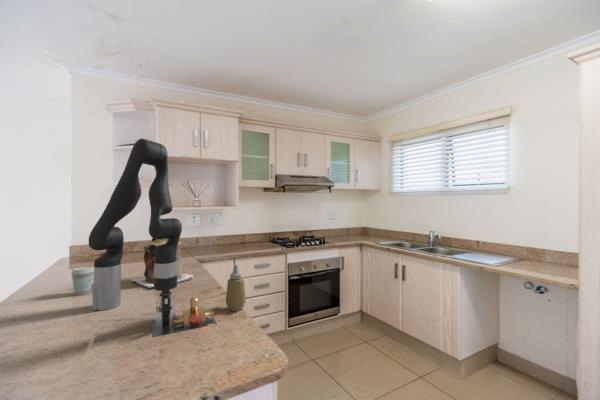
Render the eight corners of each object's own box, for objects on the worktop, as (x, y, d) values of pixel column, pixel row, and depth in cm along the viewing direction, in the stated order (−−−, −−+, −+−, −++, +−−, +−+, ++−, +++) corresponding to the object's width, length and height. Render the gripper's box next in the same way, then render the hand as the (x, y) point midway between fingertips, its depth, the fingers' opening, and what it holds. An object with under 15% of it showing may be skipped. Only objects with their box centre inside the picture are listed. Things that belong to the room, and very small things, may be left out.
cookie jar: (172, 272, 169) (172, 221, 169) (195, 279, 154) (196, 223, 155) (129, 282, 149) (129, 223, 149) (151, 290, 134) (151, 226, 135)
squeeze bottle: (249, 306, 114) (249, 263, 114) (239, 313, 106) (239, 267, 106) (232, 304, 116) (232, 262, 117) (221, 311, 109) (221, 266, 109)
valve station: (152, 340, 86) (152, 310, 86) (152, 323, 98) (152, 296, 98) (217, 326, 95) (217, 299, 95) (210, 312, 107) (210, 288, 108)
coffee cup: (71, 297, 124) (71, 271, 124) (70, 293, 130) (71, 268, 130) (94, 293, 130) (94, 268, 130) (93, 289, 136) (93, 265, 136)
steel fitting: (155, 327, 92) (155, 312, 92) (155, 320, 98) (155, 306, 98) (175, 323, 95) (175, 309, 95) (174, 317, 100) (174, 303, 100)
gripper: (153, 271, 101) (153, 316, 101) (153, 281, 88) (153, 332, 88) (175, 269, 105) (175, 312, 105) (178, 278, 92) (178, 327, 92)
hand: (165, 321), depth 96 cm, fingers closed on steel fitting, 6 cm apart
